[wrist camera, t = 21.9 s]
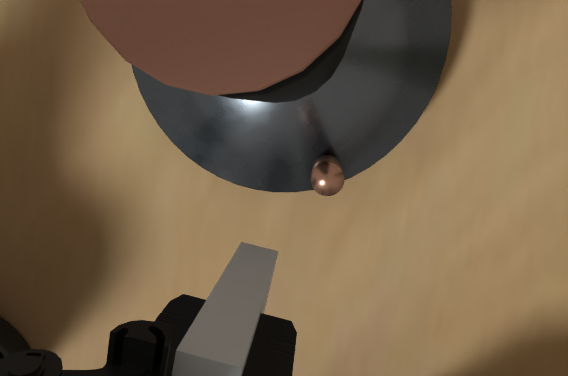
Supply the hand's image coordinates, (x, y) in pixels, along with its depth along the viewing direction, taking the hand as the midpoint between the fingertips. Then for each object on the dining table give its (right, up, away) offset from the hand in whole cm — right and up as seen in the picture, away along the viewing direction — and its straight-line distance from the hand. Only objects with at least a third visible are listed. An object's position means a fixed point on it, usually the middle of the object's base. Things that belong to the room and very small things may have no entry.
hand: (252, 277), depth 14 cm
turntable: (+1, +17, +17) cm, 24 cm away
